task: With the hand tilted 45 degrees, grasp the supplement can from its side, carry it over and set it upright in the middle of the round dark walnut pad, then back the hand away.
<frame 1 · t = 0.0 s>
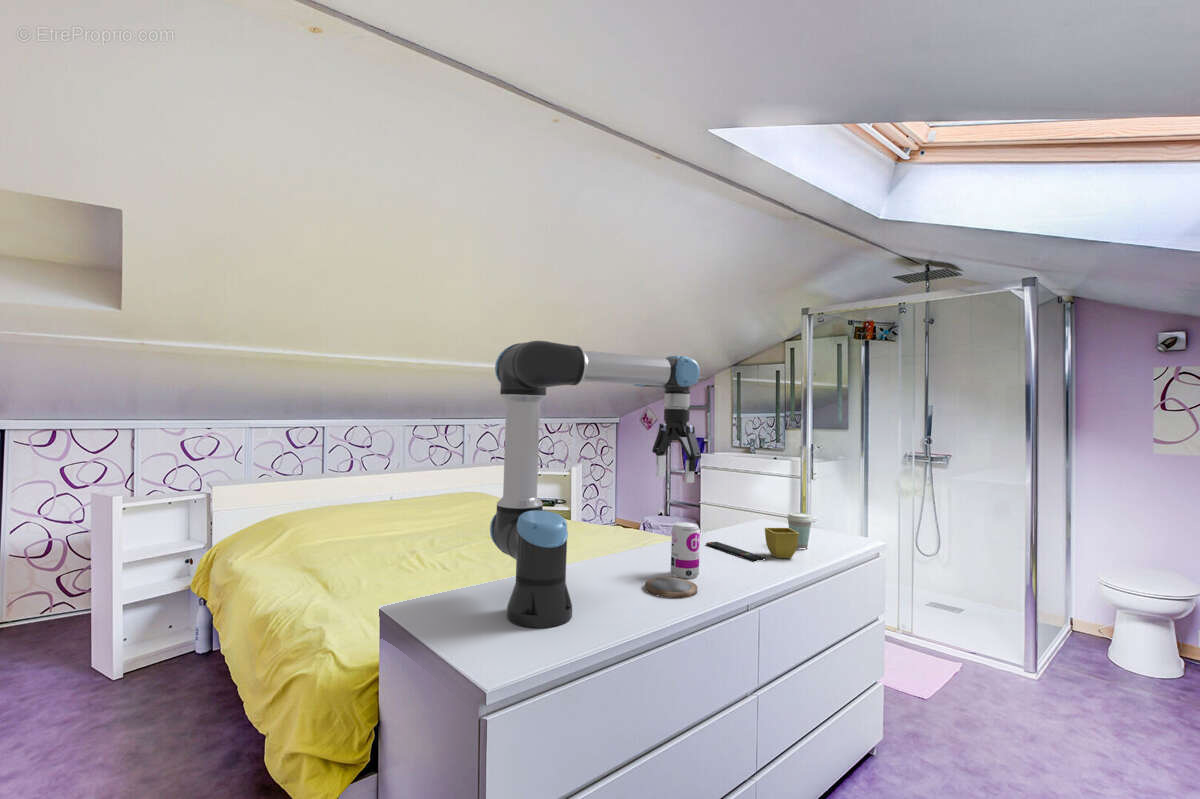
hand: (674, 479, 171), 28 cm above the table, tool pointing down, fingers open, 13 cm apart
remote control: (733, 554, 199), on the table
supplement can: (684, 575, 170), on the table
coffee cup: (798, 548, 208), on the table
flower pot: (780, 557, 195), on the table
walnut pad: (671, 589, 156), on the table
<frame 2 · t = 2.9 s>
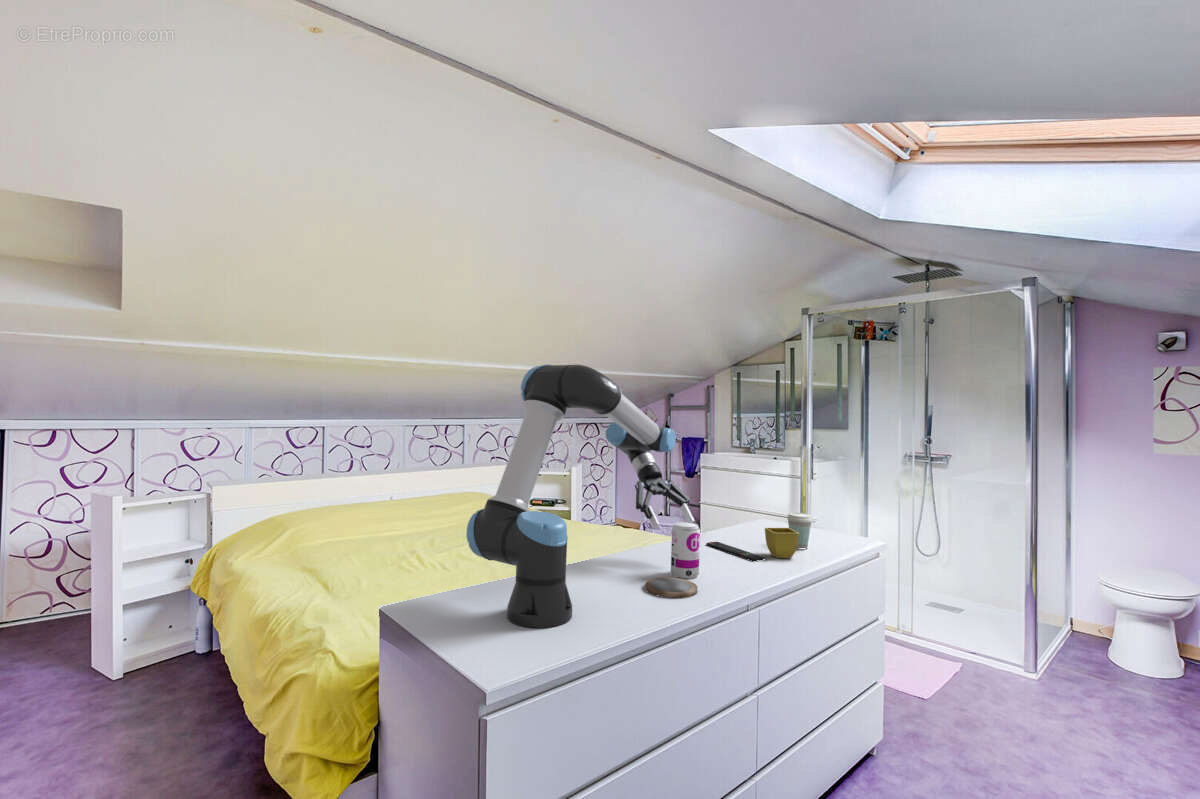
hand: (674, 524, 176), 13 cm above the table, tool tilted 45°, fingers open, 13 cm apart
nothing on the table moved.
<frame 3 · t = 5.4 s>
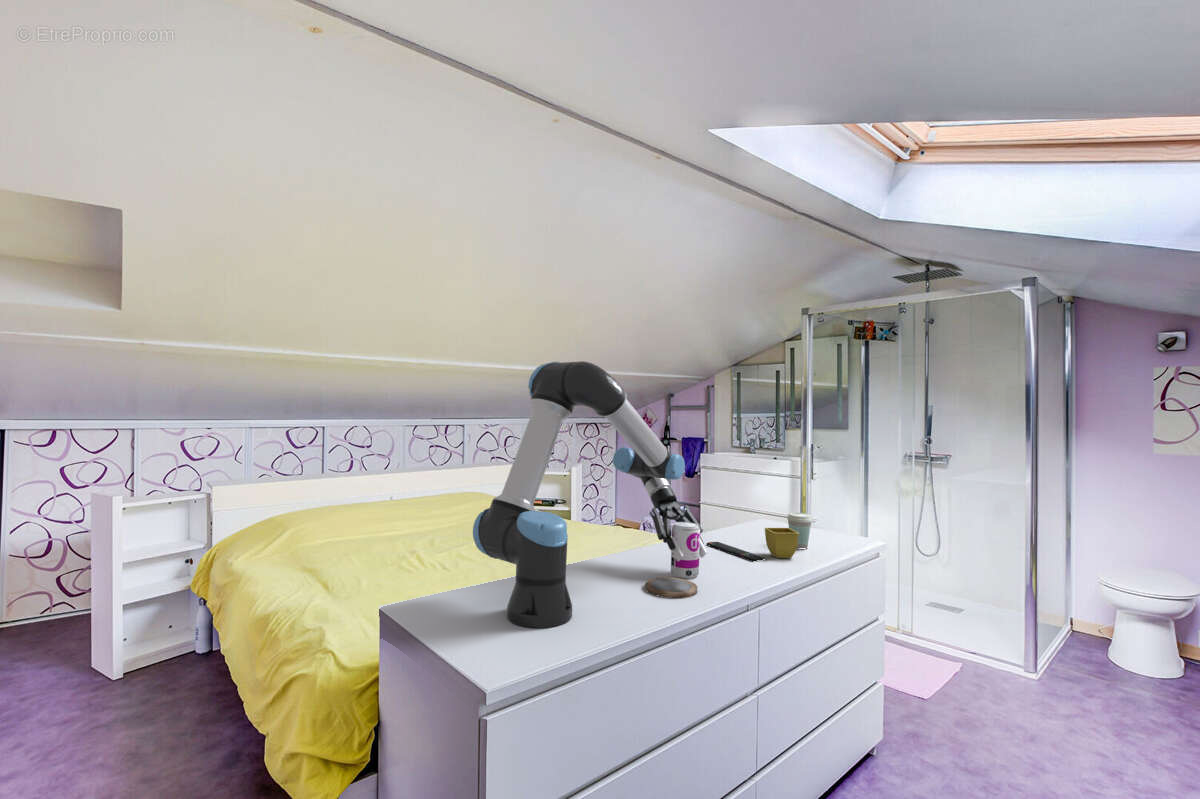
hand: (692, 556, 167), 6 cm above the table, tool tilted 45°, fingers closed on supplement can, 8 cm apart
supplement can: (684, 575, 170), on the table, touching gripper
everything else where it was.
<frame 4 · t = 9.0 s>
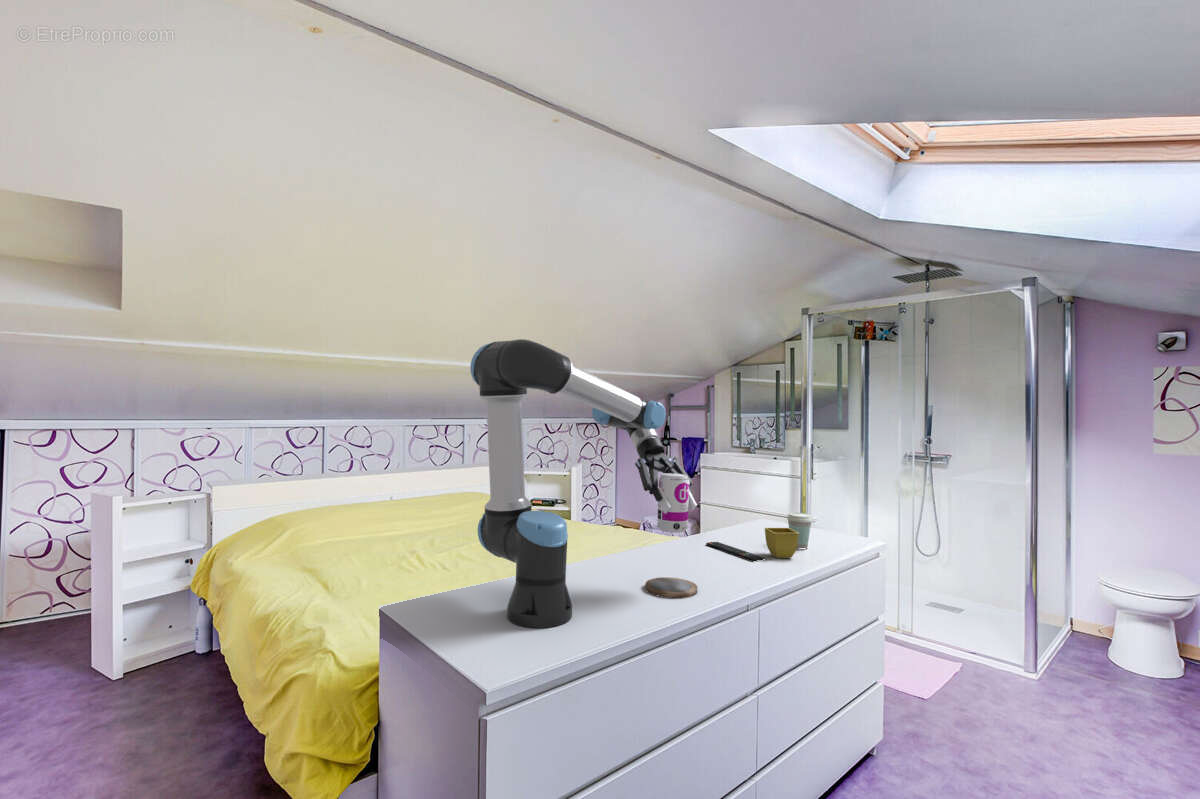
hand: (680, 509, 153), 22 cm above the table, tool tilted 45°, fingers closed on supplement can, 8 cm apart
supplement can: (672, 530, 156), point 16 cm above the table, touching gripper
everything else where it was.
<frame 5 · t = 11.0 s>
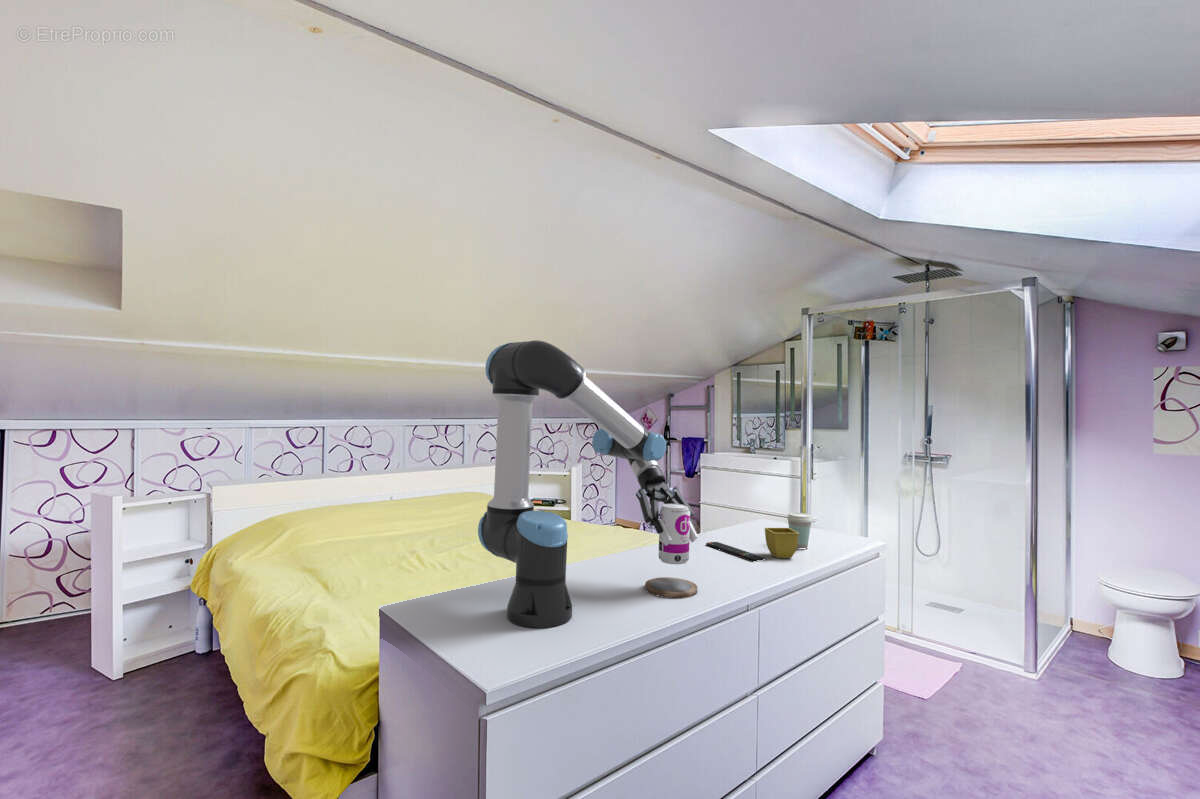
hand: (681, 541, 154), 14 cm above the table, tool tilted 45°, fingers closed on supplement can, 8 cm apart
supplement can: (673, 561, 157), point 7 cm above the table, touching gripper
everything else where it was.
when the fingers open (9 cm above the table, at t = 12.8 s): supplement can drops 1 cm, resting on walnut pad.
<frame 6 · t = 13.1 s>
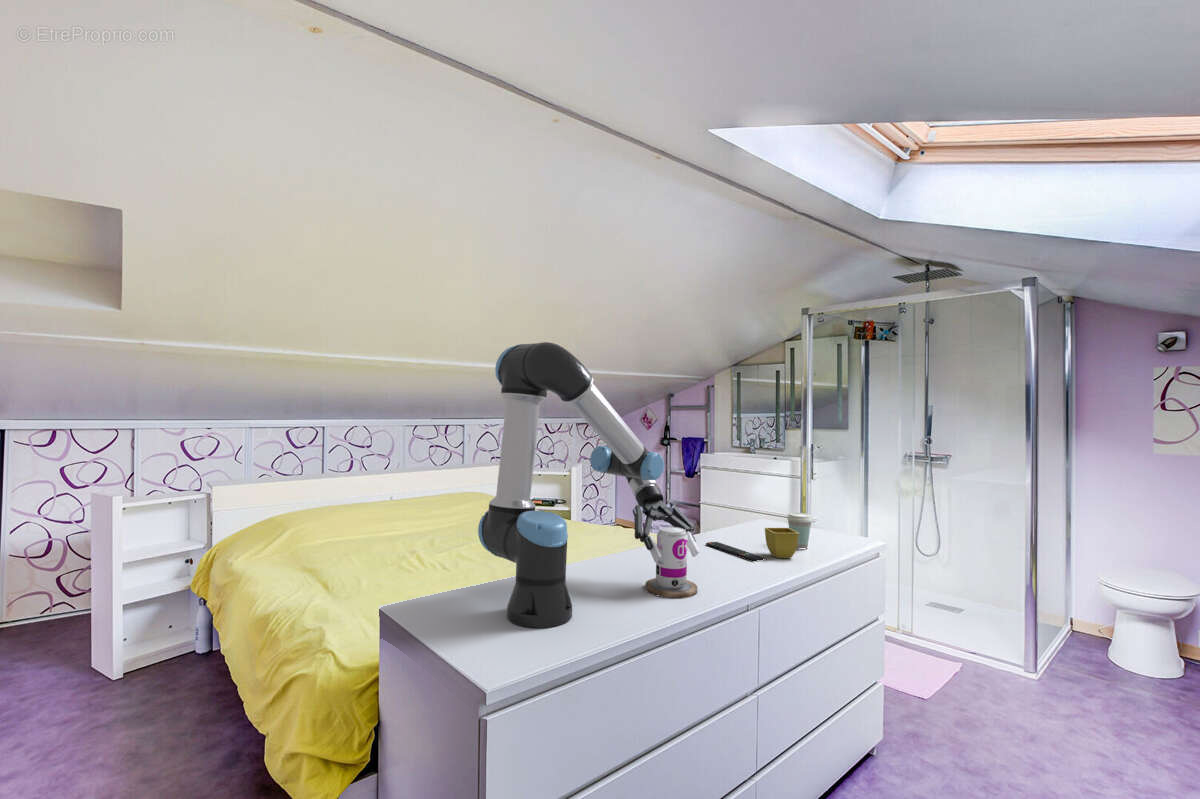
hand: (677, 556, 154), 9 cm above the table, tool tilted 45°, fingers open, 12 cm apart
supplement can: (670, 585, 156), point 1 cm above the table, touching walnut pad
everything else where it was.
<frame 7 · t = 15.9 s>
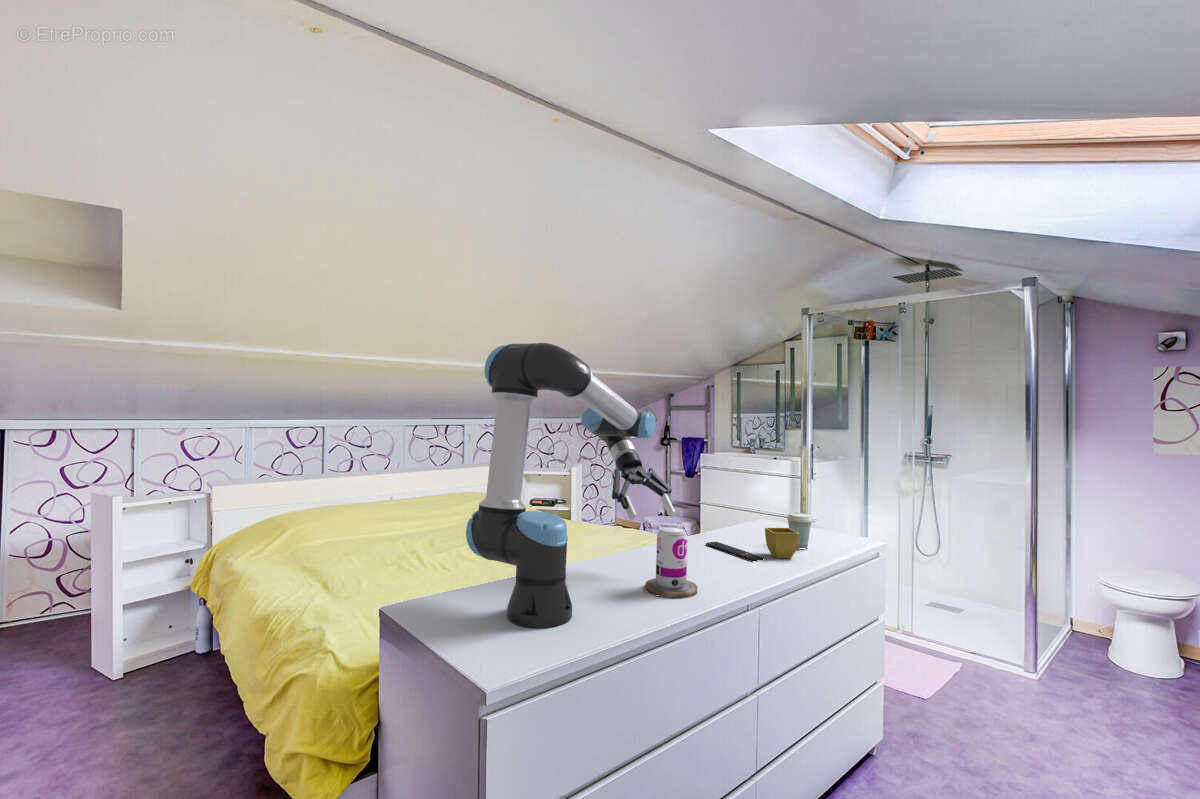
hand: (653, 515, 164), 18 cm above the table, tool tilted 45°, fingers open, 13 cm apart
nothing on the table moved.
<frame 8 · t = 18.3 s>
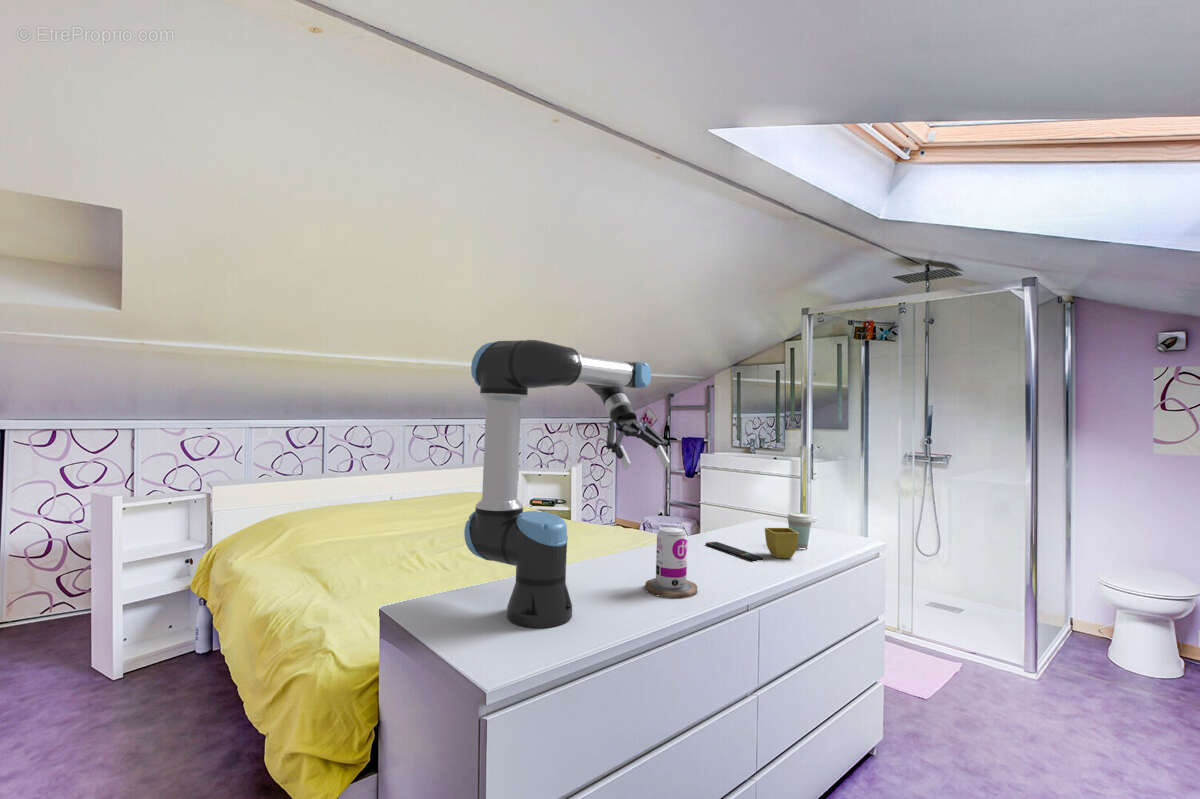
hand: (647, 465, 164), 33 cm above the table, tool tilted 45°, fingers open, 13 cm apart
nothing on the table moved.
at the end: supplement can inside the target area on the walnut pad (0.1 cm from its centre), point 1.1 cm above the walnut pad's base; supplement can tilted 0°; the gripper is holding nothing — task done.
